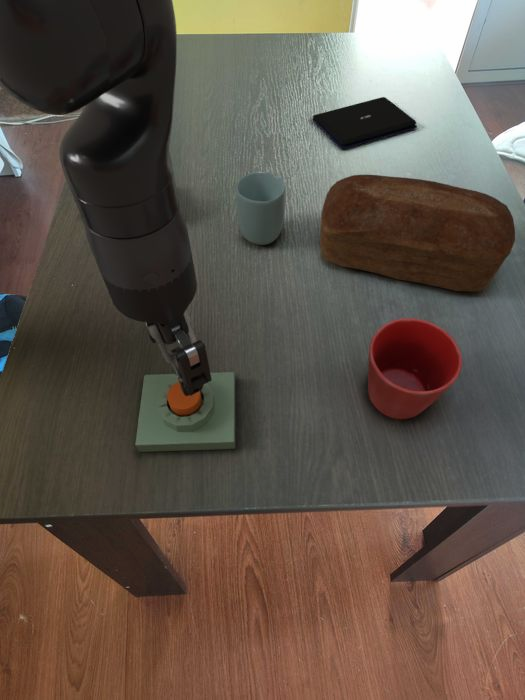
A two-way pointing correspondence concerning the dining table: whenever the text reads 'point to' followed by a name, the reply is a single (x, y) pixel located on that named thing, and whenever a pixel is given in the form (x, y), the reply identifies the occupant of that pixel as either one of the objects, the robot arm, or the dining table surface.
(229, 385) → the block
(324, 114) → the laptop
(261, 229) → the cup
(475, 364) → the dining table surface
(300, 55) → the dining table surface
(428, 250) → the bread
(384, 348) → the flower pot
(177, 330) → the robot arm
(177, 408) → the power button
